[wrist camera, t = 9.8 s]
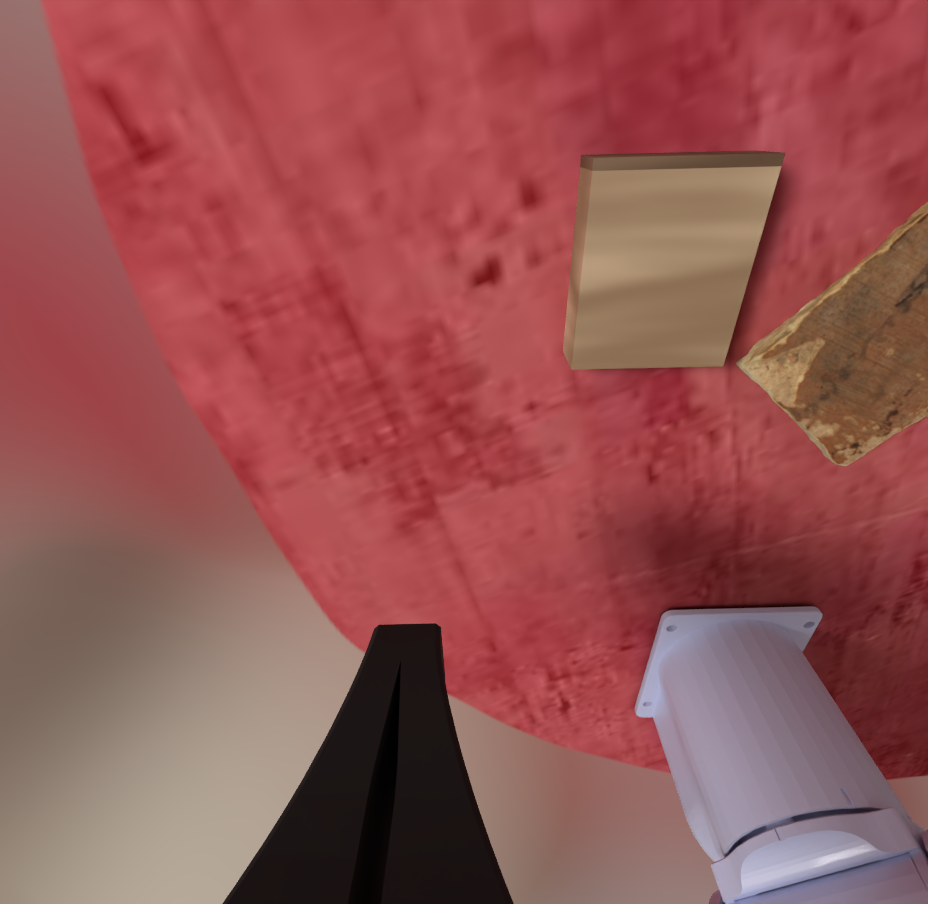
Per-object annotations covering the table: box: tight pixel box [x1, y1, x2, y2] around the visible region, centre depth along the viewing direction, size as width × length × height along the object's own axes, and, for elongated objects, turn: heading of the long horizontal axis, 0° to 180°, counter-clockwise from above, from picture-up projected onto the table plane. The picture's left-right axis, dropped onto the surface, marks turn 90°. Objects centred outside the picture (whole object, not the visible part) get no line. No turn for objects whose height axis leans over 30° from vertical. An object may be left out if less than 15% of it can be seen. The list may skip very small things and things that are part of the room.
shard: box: [736, 202, 928, 466], centre depth 16 cm, size 11×8×2 cm
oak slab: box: [563, 151, 785, 370], centre depth 15 cm, size 2×5×6 cm
